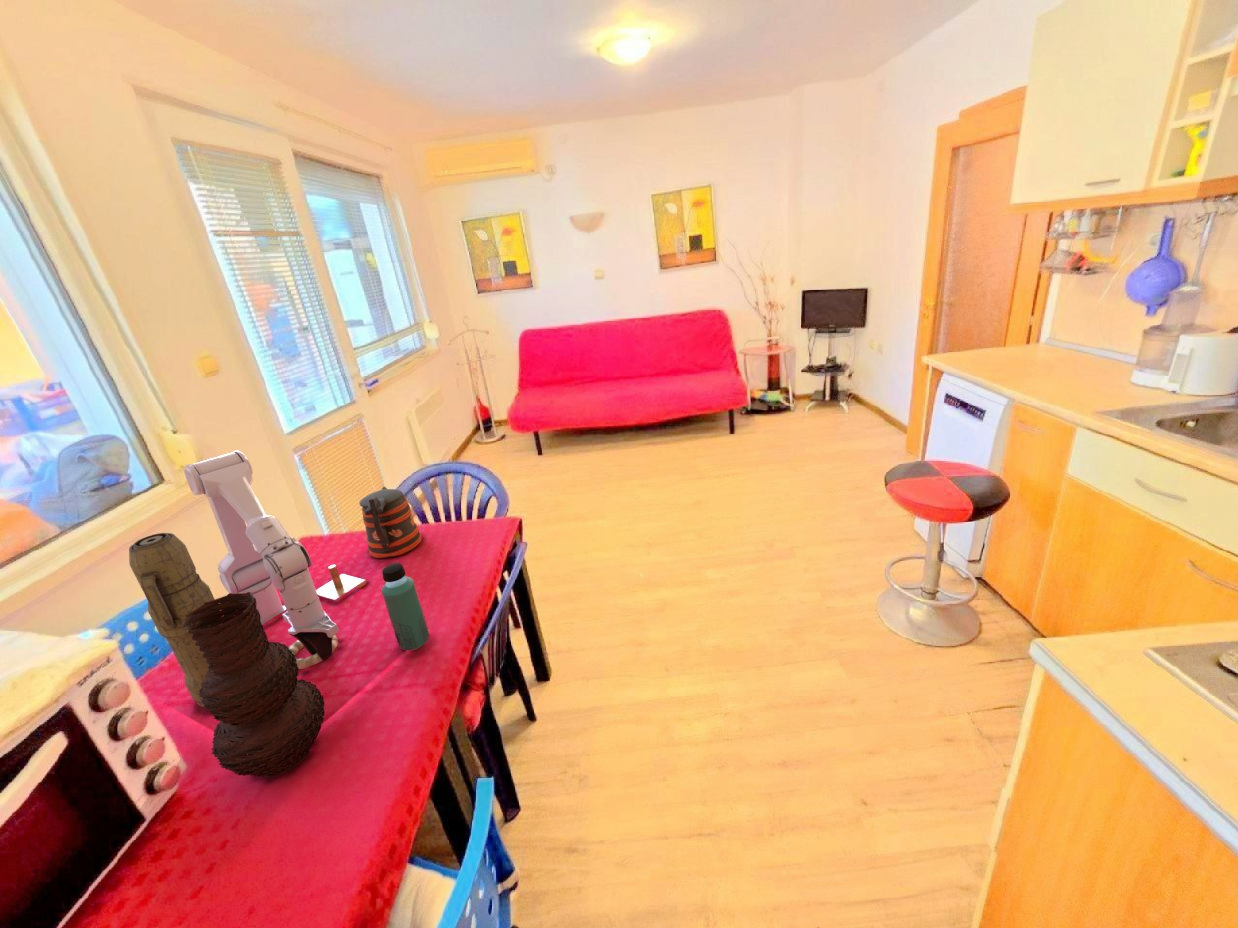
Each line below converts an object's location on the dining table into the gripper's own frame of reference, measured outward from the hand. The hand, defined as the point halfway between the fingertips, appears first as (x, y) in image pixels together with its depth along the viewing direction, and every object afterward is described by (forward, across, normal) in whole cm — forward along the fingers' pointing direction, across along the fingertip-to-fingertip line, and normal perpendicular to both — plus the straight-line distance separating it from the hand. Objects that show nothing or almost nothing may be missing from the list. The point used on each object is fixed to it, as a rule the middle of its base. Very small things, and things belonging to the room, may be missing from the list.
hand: (322, 654), depth 106 cm
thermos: (+2, -11, -14) cm, 17 cm away
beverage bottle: (+2, +16, +10) cm, 19 cm away
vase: (+2, +15, -18) cm, 23 cm away
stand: (+1, -20, +19) cm, 28 cm away
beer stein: (+2, -22, +39) cm, 45 cm away
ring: (0, -4, 0) cm, 4 cm away
